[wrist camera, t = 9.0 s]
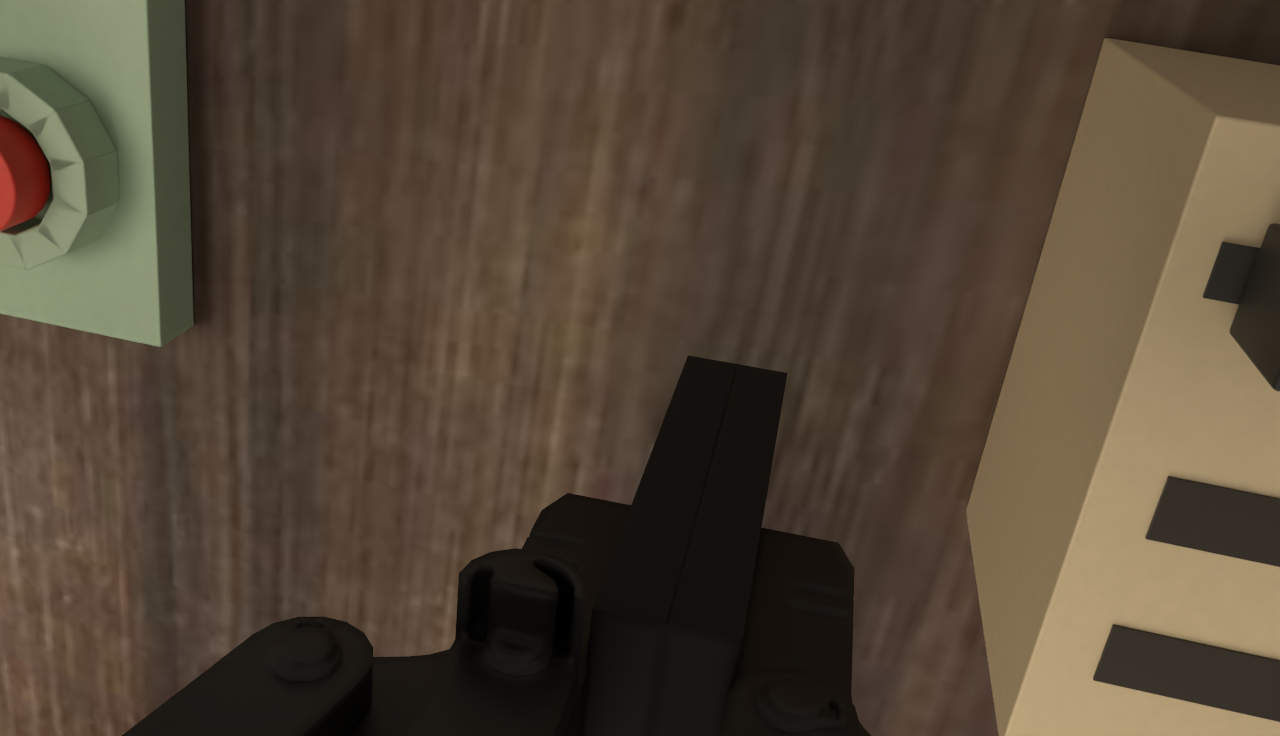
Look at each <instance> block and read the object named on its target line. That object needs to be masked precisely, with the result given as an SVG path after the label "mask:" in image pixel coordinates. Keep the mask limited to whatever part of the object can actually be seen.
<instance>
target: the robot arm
mask: <svg viewBox="0 0 1280 736" xmlns="http://www.w3.org/2000/svg"><path fill="white" fill-rule="evenodd" d="M786 378H787V373H784V372H778V371H772V370H767V369H761V368H755V367H750V366H744V365H738V364H733V363H727V362H721V361H716V360H710V359H705V358H699V357H693V356H688V357H687V360H686V363H685V365H684V368H683V370H682V373H681V376H680V378H679V381H678V384H677V386H676V389H675V392H674V394H673V397H672V400H671V402H670V405H669V407H668V410H667V413H666V415H665V418H664V421H663V423H662V426H661V429H660V431H659V434H658V437H657V439H656V442H655V445H654V447H653V450H652V452H651V455H650V458H649V460H648V463H647V466H646V468H645V471H644V474H643V476H642V479H641V482H640V484H639V487H638V489H637V492H636V495H635V497H634V500H633V503H632V505H626V504H621V503H616V502H611V501H606V500H600V499H595V498H590V497H585V496H580V495H575V494H570V493H567V494H566V495H564V496H563V497H561V498H560V499H558V500H557V501H555V502H553V503H552V504H550V505H549V506H547V507H546V508H544V509H543V510H542V511H541V513H540V515H539V517H538V519H537V521H536V523H535V525H534V527H533V528H532V530H531V532H530V537H528V538H527V540H526V542H525V544H524V546H523V548H522V549H509V550H502V551H495V552H490V553H488V554H485V555H483V556H481V557H479V558H476V559H474V560H472V561H471V562H470V563H469V564H468V565H467V566H466V567H465V568H464V569H463V570H462V571H461V572H460V573H459V585H458V603H457V621H456V639H455V641H454V643H453V645H452V647H451V649H449V650H445V651H442V652H438V653H434V654H430V655H421V656H410V657H373V647H372V645H371V644H370V642H369V640H368V639H367V637H366V635H365V634H364V633H363V632H362V631H360V630H358V629H357V628H355V627H354V626H352V625H350V624H349V623H347V622H344V621H340V620H336V619H331V618H327V617H297V618H293V619H289V620H285V621H281V622H277V623H273V624H271V625H269V626H268V627H266V628H264V629H262V630H260V631H259V632H257V633H255V634H253V635H252V636H250V637H249V638H248V639H246V640H245V641H244V642H243V643H241V644H240V645H239V646H237V647H236V648H235V649H234V650H232V651H231V652H230V653H228V654H227V655H226V656H224V657H223V658H222V659H221V660H219V661H218V662H217V663H215V664H214V665H213V666H212V667H210V668H209V669H208V670H206V671H205V672H204V673H203V674H201V675H200V676H199V677H197V678H196V679H195V680H193V681H192V682H191V683H190V684H188V685H187V686H186V687H184V688H183V689H182V690H181V691H179V692H178V693H177V694H175V695H174V696H173V697H171V698H170V699H169V700H168V701H166V702H165V703H164V704H162V705H161V706H160V707H159V708H157V709H156V710H155V711H153V712H152V713H151V714H149V715H148V716H147V717H146V718H144V719H143V720H142V721H140V722H139V723H138V724H137V725H135V726H134V727H133V728H131V729H130V730H129V731H127V732H126V733H125V734H124V735H122V736H871V735H870V734H869V733H868V732H867V731H866V730H865V728H864V727H863V726H862V725H861V724H860V722H859V720H858V717H857V713H856V709H855V706H854V705H853V704H852V698H851V681H852V641H853V620H852V619H853V601H854V599H853V595H854V567H853V566H852V564H851V562H850V561H849V559H848V557H847V556H846V554H845V553H844V551H843V549H842V548H841V546H840V545H839V543H837V542H832V541H826V540H821V539H816V538H811V537H806V536H801V535H796V534H790V533H785V532H780V531H775V530H770V529H765V528H761V526H762V520H763V514H764V508H765V503H766V497H767V491H768V485H769V479H770V473H771V467H772V461H773V455H774V449H775V443H776V437H777V431H778V425H779V419H780V413H781V407H782V401H783V395H784V389H785V383H786Z"/></svg>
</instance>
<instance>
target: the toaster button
mask: <svg viewBox="0 0 1280 736" xmlns="http://www.w3.org/2000/svg"><path fill="white" fill-rule="evenodd" d="M1230 334H1231V336H1232V337H1233V338H1234V340H1235V341H1236V342H1237V343H1238V345H1239V346H1240V347H1241V349H1242V350H1243V351H1244V352H1245V354H1246V355H1247V356H1248V358H1249V359H1250V360H1251V361H1252V363H1253V364H1254V365H1255V366H1256V368H1257V369H1258V370H1259V372H1260V373H1261V374H1262V375H1263V377H1264V378H1265V379H1266V381H1267V382H1268V383H1269V384H1270V386H1271V387H1272V388H1273V389H1274V390H1276V391H1280V224H1276V223H1274V224H1270V225H1269V227H1268V229H1267V232H1266V234H1265V237H1264V240H1263V242H1262V245H1261V248H1260V250H1259V253H1258V256H1257V258H1256V261H1255V264H1254V266H1253V269H1252V272H1251V274H1250V277H1249V280H1248V282H1247V285H1246V288H1245V290H1244V293H1243V296H1242V298H1241V301H1240V304H1239V306H1238V309H1237V312H1236V314H1235V317H1234V320H1233V322H1232V325H1231V328H1230Z"/></svg>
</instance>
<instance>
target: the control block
mask: <svg viewBox="0 0 1280 736" xmlns="http://www.w3.org/2000/svg"><path fill="white" fill-rule="evenodd" d="M0 115H1V116H4V117H6V118H9V119H10V120H12V121H14V122H16V123H17V124H19V125H20V126H22V127H23V128H24V129H25V130H26V131H27V132H28V133H29V134H30V135H31V136H32V137H33V138H34V139H35V141H36V142H37V143H38V145H39V147H40V148H41V150H42V152H43V154H44V156H45V158H46V161H47V163H48V167H49V171H50V178H51V186H50V193H49V197H48V200H47V202H46V204H45V206H44V207H43V209H42V210H41V211H40V212H39V213H38V214H37V215H36V216H35V217H33V218H31V219H30V220H27V221H25V222H22V223H20V224H17V225H15V226H13V227H10V228H8V229H5V230H3V231H0V313H1V314H5V315H10V316H15V317H20V318H24V319H29V320H34V321H39V322H44V323H48V324H53V325H58V326H63V327H67V328H72V329H77V330H82V331H87V332H91V333H96V334H101V335H106V336H110V337H115V338H120V339H125V340H130V341H134V342H139V343H144V344H149V345H153V346H158V347H162V346H163V345H165V344H166V343H168V342H169V341H171V340H172V339H174V338H175V337H177V336H178V335H180V334H181V333H183V332H184V331H186V330H187V329H189V328H190V327H192V326H193V325H194V320H193V284H192V248H191V212H190V176H189V140H188V104H187V68H186V32H185V0H0Z"/></svg>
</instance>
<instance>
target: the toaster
mask: <svg viewBox="0 0 1280 736" xmlns="http://www.w3.org/2000/svg"><path fill="white" fill-rule="evenodd" d="M1274 223H1276V224H1280V65H1273V64H1267V63H1261V62H1255V61H1248V60H1242V59H1236V58H1230V57H1223V56H1217V55H1211V54H1205V53H1198V52H1192V51H1186V50H1180V49H1173V48H1167V47H1161V46H1155V45H1148V44H1142V43H1136V42H1130V41H1124V40H1117V39H1111V38H1105V39H1104V41H1103V45H1102V48H1101V52H1100V55H1099V58H1098V62H1097V65H1096V69H1095V72H1094V75H1093V79H1092V82H1091V86H1090V89H1089V92H1088V96H1087V99H1086V103H1085V106H1084V110H1083V113H1082V116H1081V120H1080V123H1079V127H1078V130H1077V133H1076V137H1075V140H1074V144H1073V147H1072V150H1071V154H1070V157H1069V161H1068V164H1067V168H1066V171H1065V174H1064V178H1063V181H1062V185H1061V188H1060V191H1059V195H1058V198H1057V202H1056V205H1055V208H1054V212H1053V215H1052V219H1051V222H1050V226H1049V229H1048V232H1047V236H1046V239H1045V243H1044V246H1043V249H1042V253H1041V256H1040V260H1039V263H1038V266H1037V270H1036V273H1035V277H1034V280H1033V284H1032V287H1031V290H1030V294H1029V297H1028V301H1027V304H1026V307H1025V311H1024V314H1023V318H1022V321H1021V325H1020V328H1019V331H1018V335H1017V338H1016V342H1015V345H1014V348H1013V352H1012V355H1011V359H1010V362H1009V365H1008V369H1007V372H1006V376H1005V379H1004V383H1003V386H1002V389H1001V393H1000V396H999V400H998V403H997V406H996V410H995V413H994V417H993V420H992V423H991V427H990V430H989V434H988V437H987V441H986V444H985V447H984V451H983V454H982V458H981V461H980V464H979V468H978V471H977V475H976V478H975V481H974V485H973V488H972V492H971V495H970V499H969V502H968V505H967V509H966V514H967V521H968V528H969V535H970V542H971V548H972V555H973V562H974V569H975V576H976V583H977V590H978V597H979V603H980V610H981V617H982V624H983V631H984V638H985V645H986V652H987V658H988V665H989V672H990V679H991V686H992V693H993V700H994V707H995V713H996V720H997V727H998V734H999V736H1280V391H1276V390H1274V389H1273V388H1272V387H1271V386H1270V384H1269V383H1268V382H1267V381H1266V379H1265V378H1264V377H1263V375H1262V374H1261V373H1260V372H1259V370H1258V369H1257V368H1256V366H1255V365H1254V364H1253V363H1252V361H1251V360H1250V359H1249V358H1248V356H1247V355H1246V354H1245V352H1244V351H1243V350H1242V349H1241V347H1240V346H1239V345H1238V343H1237V342H1236V341H1235V340H1234V338H1233V337H1232V336H1231V334H1230V328H1231V325H1232V322H1233V320H1234V317H1235V314H1236V312H1237V309H1238V306H1239V304H1240V301H1241V298H1242V296H1243V293H1244V290H1245V288H1246V285H1247V282H1248V280H1249V277H1250V274H1251V272H1252V269H1253V266H1254V264H1255V261H1256V258H1257V256H1258V253H1259V250H1260V248H1261V245H1262V242H1263V240H1264V237H1265V234H1266V232H1267V229H1268V227H1269V225H1270V224H1274Z"/></svg>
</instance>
